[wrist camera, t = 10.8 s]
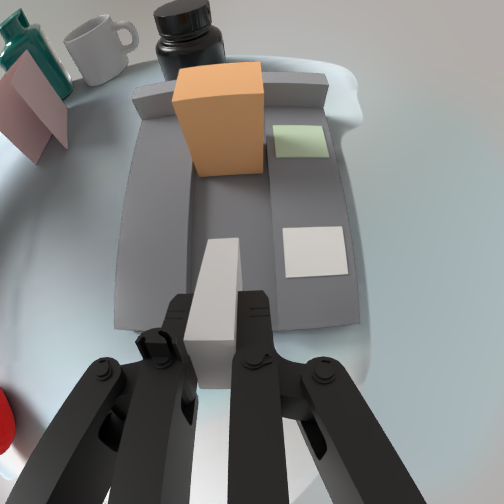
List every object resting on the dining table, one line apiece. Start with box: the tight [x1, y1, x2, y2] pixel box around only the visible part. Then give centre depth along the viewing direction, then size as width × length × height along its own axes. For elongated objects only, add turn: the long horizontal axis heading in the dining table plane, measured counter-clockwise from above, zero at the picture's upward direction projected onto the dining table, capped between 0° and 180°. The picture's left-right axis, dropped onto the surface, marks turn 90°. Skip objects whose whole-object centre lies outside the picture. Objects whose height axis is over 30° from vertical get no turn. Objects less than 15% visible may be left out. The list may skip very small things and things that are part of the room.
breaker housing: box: [114, 72, 360, 331], centre depth 23 cm, size 24×20×6 cm
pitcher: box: [0, 8, 73, 100], centre depth 24 cm, size 10×8×22 cm
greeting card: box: [0, 50, 68, 165], centre depth 23 cm, size 11×7×15 cm, turn 171°
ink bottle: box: [153, 0, 226, 82], centre depth 26 cm, size 10×9×12 cm
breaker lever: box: [172, 62, 264, 177], centre depth 20 cm, size 4×6×10 cm, turn 92°
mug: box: [64, 15, 139, 86], centre depth 29 cm, size 12×8×11 cm
